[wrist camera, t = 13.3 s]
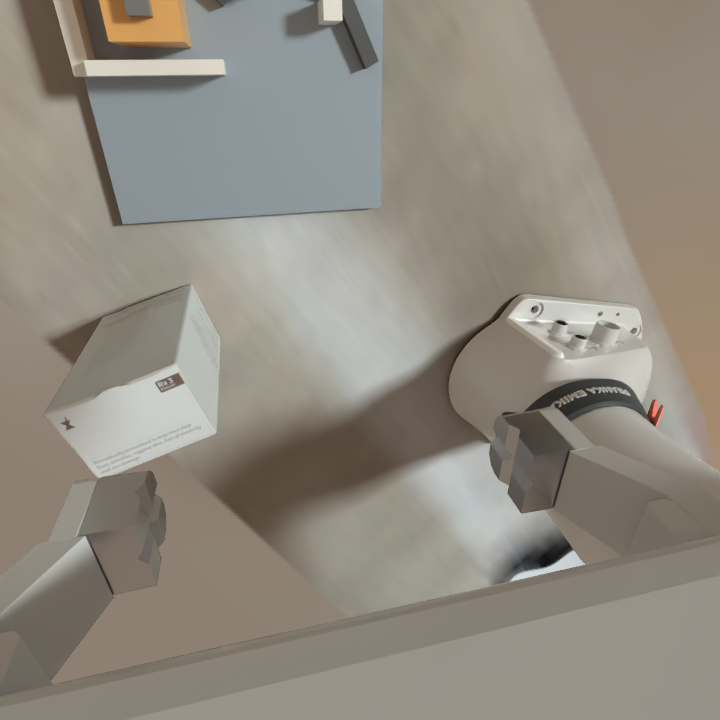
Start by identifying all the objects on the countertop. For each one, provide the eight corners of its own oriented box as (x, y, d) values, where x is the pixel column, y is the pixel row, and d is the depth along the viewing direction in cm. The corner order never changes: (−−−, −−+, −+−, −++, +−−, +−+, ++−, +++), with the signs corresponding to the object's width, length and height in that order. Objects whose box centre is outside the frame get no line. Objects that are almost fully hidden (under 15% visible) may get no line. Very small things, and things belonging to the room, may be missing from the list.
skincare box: (138, 369, 42) (95, 488, 30) (99, 312, 39) (32, 419, 26) (226, 336, 42) (220, 440, 30) (194, 277, 39) (173, 366, 27)
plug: (179, -31, 29) (166, -56, 24) (191, 47, 31) (182, 40, 26) (109, -33, 28) (80, -59, 23) (127, 47, 30) (104, 39, 25)
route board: (379, -81, 30) (397, -102, 27) (378, 204, 40) (391, 216, 36) (41, -97, 27) (13, -123, 24) (125, 221, 36) (113, 234, 33)
